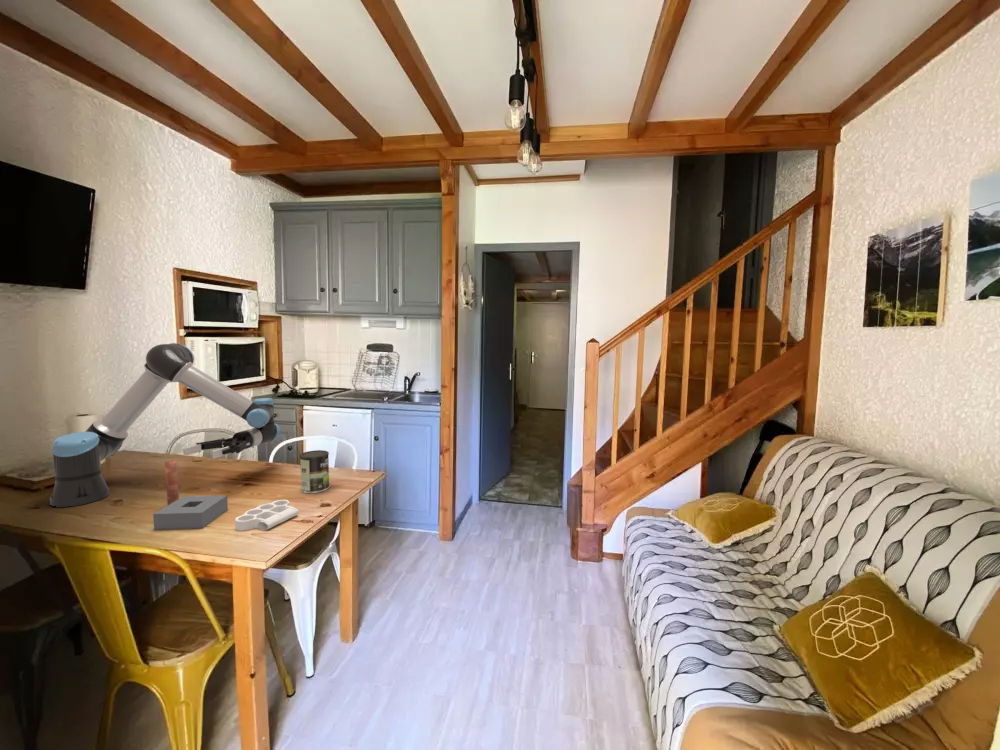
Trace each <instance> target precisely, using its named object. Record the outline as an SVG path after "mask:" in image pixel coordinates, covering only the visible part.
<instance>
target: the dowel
mask: <svg viewBox="0 0 1000 750" xmlns="http://www.w3.org/2000/svg"><path fill="white" fill-rule="evenodd" d="M177 465H178V463H177V460H176V459H172V460H166V461H165V462H164V472H165V473H164V476H165V486H166V489H165V490H166V502H167V503H166V504H167V505H166V506H168V505H170V504H171V503H173V502H175V501H176V500H178V499H180V495H179V484H178V483H179V482H178V480H179V479H178V478H179V477H178V466H177Z"/></svg>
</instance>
